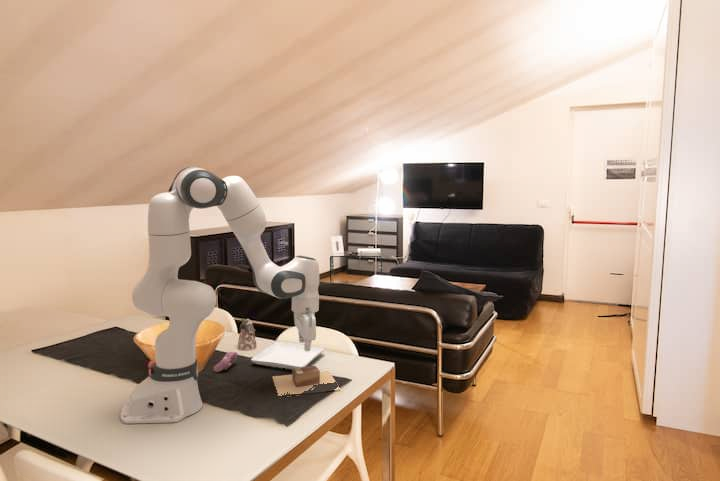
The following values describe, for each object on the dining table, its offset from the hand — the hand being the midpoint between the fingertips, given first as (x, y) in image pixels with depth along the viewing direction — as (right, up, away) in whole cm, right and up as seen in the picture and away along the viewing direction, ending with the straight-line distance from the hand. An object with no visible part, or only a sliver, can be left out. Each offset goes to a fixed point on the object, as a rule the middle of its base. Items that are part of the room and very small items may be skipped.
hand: (304, 346), depth 171 cm
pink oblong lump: (-30, -11, +15) cm, 35 cm away
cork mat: (0, -13, +2) cm, 13 cm away
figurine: (-27, -8, +37) cm, 46 cm away
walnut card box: (0, -13, +2) cm, 13 cm away
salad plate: (-8, -11, +24) cm, 27 cm away
